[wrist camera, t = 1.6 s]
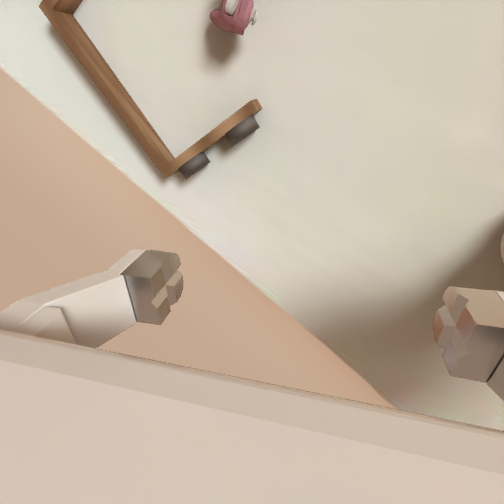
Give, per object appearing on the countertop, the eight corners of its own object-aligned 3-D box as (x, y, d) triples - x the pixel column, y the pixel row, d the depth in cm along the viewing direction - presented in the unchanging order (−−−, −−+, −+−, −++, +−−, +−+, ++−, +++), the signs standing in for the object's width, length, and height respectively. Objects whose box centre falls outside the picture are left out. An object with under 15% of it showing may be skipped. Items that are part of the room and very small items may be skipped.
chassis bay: (128, -126, 28) (100, -154, 25) (269, 120, 36) (262, 124, 33) (49, -3, 35) (19, -11, 32) (182, 181, 43) (169, 190, 39)
